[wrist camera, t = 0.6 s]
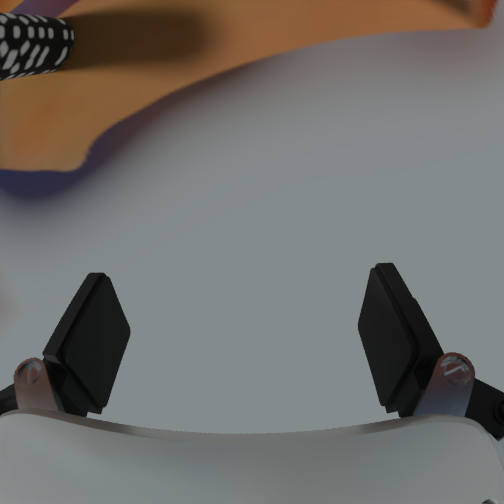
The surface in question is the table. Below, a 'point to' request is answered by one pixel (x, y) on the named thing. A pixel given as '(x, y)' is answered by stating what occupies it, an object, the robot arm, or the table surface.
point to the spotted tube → (32, 44)
